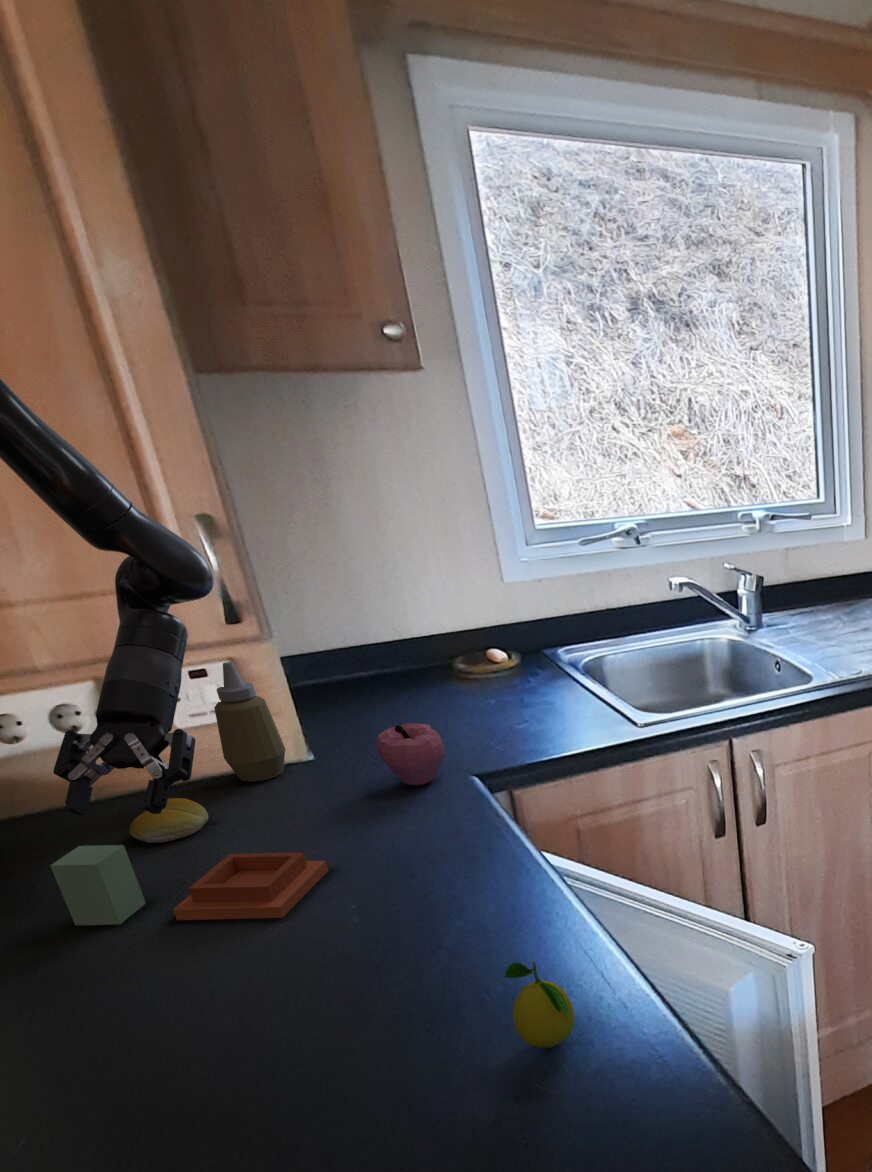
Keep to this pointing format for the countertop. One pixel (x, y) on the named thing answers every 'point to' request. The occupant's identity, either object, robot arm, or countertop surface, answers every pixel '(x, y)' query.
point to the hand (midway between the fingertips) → (114, 812)
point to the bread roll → (170, 822)
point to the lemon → (541, 1010)
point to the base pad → (251, 887)
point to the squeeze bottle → (247, 730)
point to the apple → (411, 752)
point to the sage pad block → (98, 885)
